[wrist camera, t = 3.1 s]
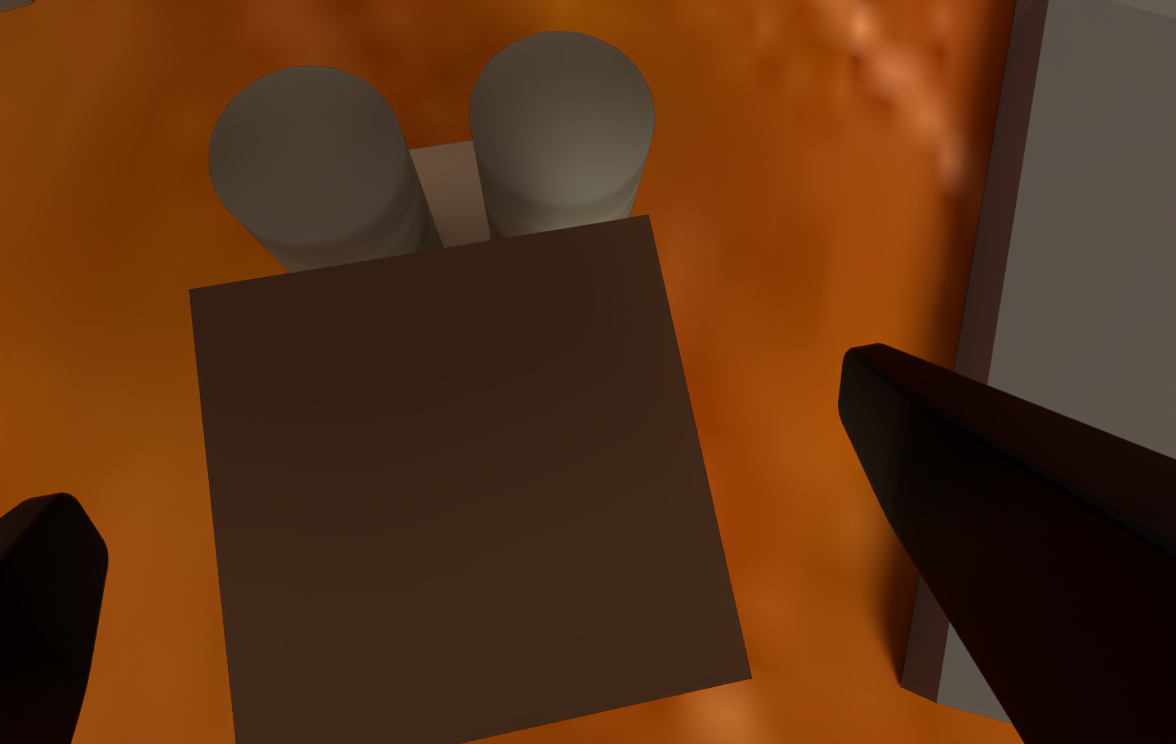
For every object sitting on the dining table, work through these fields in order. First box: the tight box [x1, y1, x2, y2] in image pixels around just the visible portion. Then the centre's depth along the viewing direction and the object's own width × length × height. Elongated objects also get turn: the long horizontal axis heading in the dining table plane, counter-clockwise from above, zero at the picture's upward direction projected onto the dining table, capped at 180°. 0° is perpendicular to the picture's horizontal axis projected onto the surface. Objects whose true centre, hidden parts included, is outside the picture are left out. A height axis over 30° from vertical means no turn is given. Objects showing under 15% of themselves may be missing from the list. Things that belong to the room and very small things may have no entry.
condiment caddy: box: [189, 31, 752, 744], centre depth 11 cm, size 11×7×11 cm, turn 11°
